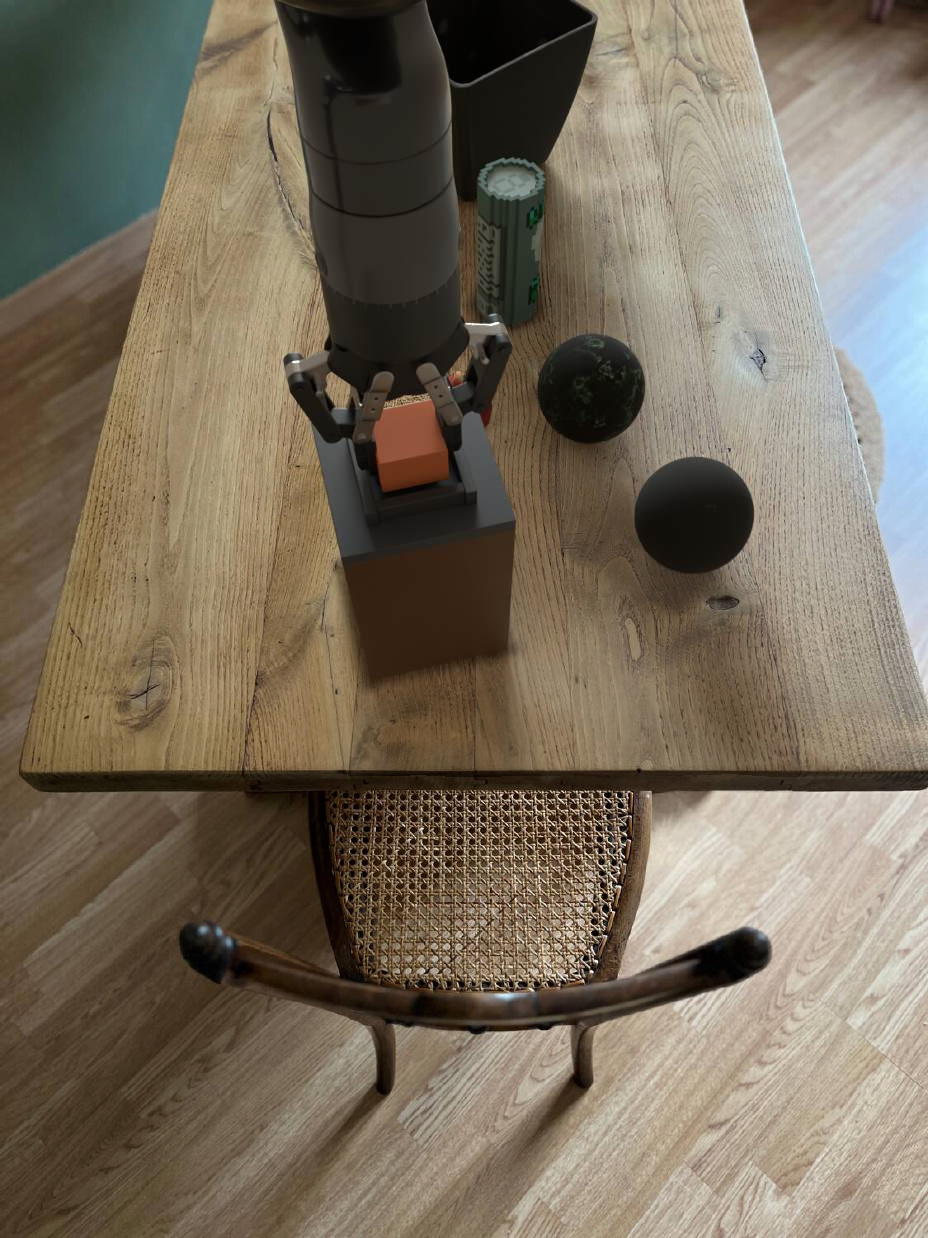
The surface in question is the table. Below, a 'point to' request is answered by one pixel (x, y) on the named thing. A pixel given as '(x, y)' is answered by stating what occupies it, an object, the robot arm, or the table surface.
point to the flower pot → (509, 77)
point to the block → (410, 447)
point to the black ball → (694, 515)
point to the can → (509, 238)
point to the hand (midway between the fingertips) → (408, 457)
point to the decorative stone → (591, 388)
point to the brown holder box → (424, 556)
